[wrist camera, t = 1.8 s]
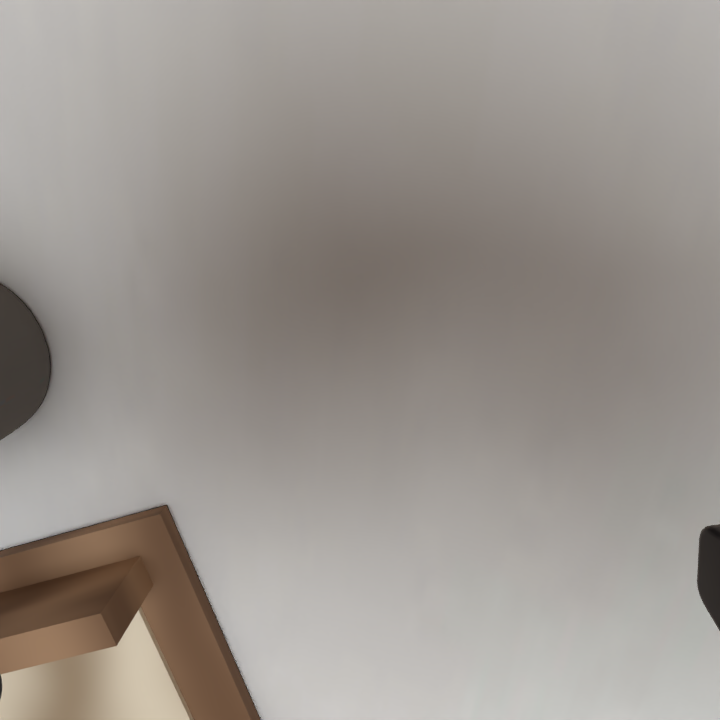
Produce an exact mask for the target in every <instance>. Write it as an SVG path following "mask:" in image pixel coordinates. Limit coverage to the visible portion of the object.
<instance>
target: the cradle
mask: <svg viewBox="0 0 720 720" xmlns="http://www.w3.org/2000/svg"><path fill="white" fill-rule="evenodd" d="M0 674H1V678H2V694H1V699H0V720H260V718H259V716H258V714H257V711H256V709H255V707H254V704H253V702H252V700H251V698H250V695H249V693H248V691H247V688H246V686H245V684H244V682H243V679H242V677H241V675H240V672H239V670H238V668H237V666H236V663H235V661H234V659H233V656H232V654H231V652H230V649H229V647H228V645H227V643H226V640H225V638H224V636H223V633H222V631H221V629H220V627H219V624H218V622H217V620H216V617H215V615H214V613H213V611H212V608H211V606H210V604H209V601H208V599H207V597H206V595H205V592H204V590H203V588H202V585H201V583H200V581H199V579H198V576H197V574H196V572H195V569H194V567H193V565H192V563H191V560H190V558H189V556H188V553H187V551H186V549H185V547H184V544H183V542H182V540H181V537H180V535H179V533H178V531H177V528H176V526H175V524H174V521H173V519H172V517H171V515H170V512H169V510H168V508H167V505H166V506H162V507H158V508H155V509H151V510H147V511H144V512H140V513H136V514H133V515H129V516H125V517H122V518H118V519H115V520H111V521H107V522H104V523H100V524H96V525H93V526H89V527H85V528H82V529H78V530H74V531H71V532H67V533H64V534H60V535H56V536H53V537H49V538H45V539H42V540H38V541H34V542H31V543H27V544H23V545H20V546H16V547H13V548H9V549H5V550H2V551H0Z"/></svg>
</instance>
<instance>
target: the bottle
mask: <svg viewBox="0 0 720 720" xmlns="http://www.w3.org/2000/svg"><path fill="white" fill-rule="evenodd" d="M49 375H50V360H49V352H48V348H47V345H46V342H45V338H44V335H43V332H42V330H41V329H40V327H39V325H38V323H37V322H36V320H35V318H34V316H33V315H32V313H31V312H30V311H29V309H28V308H27V307H26V306H25V305H24V304H23V303H22V302H21V301H20V300H19V299H18V298H17V297H16V295H15V294H14V293H12V292H11V291H10V290H8V289H7V288H5V287H4V286H2V285H1V284H0V440H1V439H3V438H4V437H6V436H7V435H9V434H10V433H12V432H13V431H15V430H16V429H17V428H18V427H20V426H21V425H22V424H24V423H25V422H26V421H27V420H28V419H29V418H30V417H31V416H32V415H33V414H34V413H35V412H36V410H37V409H38V407H39V406H40V404H41V403H42V401H43V399H44V396H45V394H46V391H47V387H48V383H49Z"/></svg>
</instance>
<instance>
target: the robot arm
mask: <svg viewBox="0 0 720 720" xmlns="http://www.w3.org/2000/svg"><path fill="white" fill-rule="evenodd" d="M697 584H698V590H699V594H700V597H701V599H702V601H703V603H704V605H705V607H706V608H707V610H708V612H709V614H710V615H711V617H712V619H713V620H714V622H715V624H716V625H717V627H718V629H719V631H720V524H718V525H711V526H707V527H705V528H704V529H703V530H702V531H701V534H700V538H699V555H698V575H697ZM1 694H2V678H1V674H0V699H1Z"/></svg>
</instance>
